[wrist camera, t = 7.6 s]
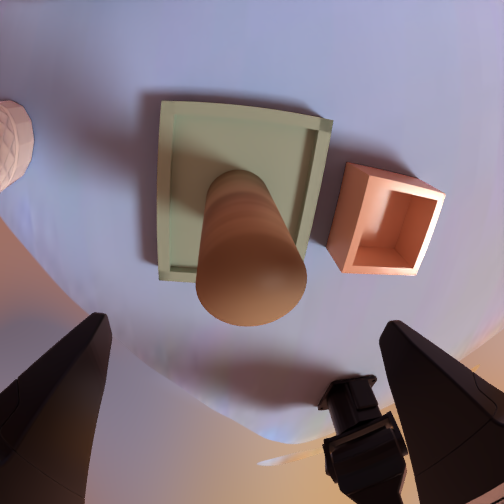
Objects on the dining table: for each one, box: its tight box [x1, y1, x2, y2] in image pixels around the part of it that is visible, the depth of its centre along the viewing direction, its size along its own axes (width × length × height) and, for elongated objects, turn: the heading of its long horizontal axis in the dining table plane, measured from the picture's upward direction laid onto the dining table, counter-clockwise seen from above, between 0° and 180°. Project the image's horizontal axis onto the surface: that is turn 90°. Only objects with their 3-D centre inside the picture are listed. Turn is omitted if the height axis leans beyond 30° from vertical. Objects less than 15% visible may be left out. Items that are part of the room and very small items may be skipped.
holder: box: [326, 162, 445, 275], centre depth 19 cm, size 7×7×4 cm
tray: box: [157, 101, 333, 283], centre depth 18 cm, size 12×10×2 cm
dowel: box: [196, 170, 307, 326], centre depth 14 cm, size 4×4×9 cm
